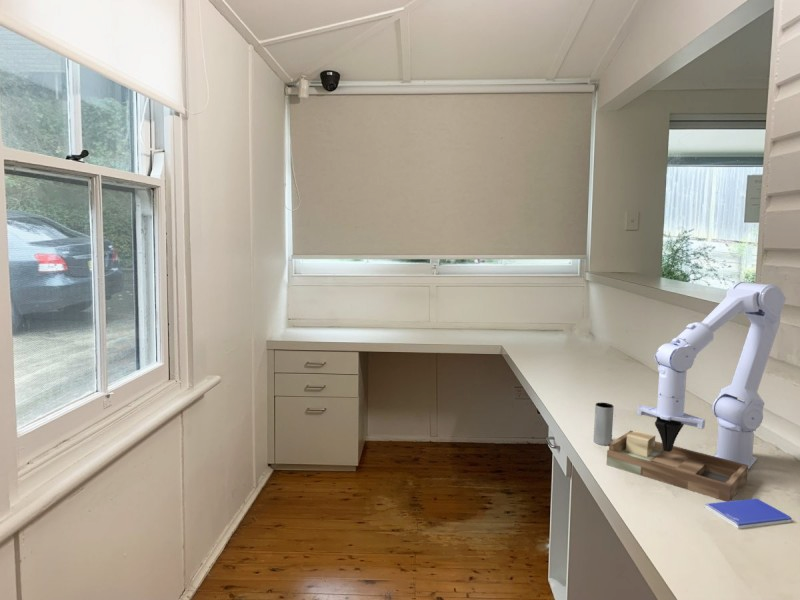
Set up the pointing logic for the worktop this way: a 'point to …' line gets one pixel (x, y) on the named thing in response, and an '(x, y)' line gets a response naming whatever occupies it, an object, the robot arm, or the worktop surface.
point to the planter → (603, 423)
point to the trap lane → (682, 468)
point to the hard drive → (748, 513)
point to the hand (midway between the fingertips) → (667, 450)
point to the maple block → (640, 443)
